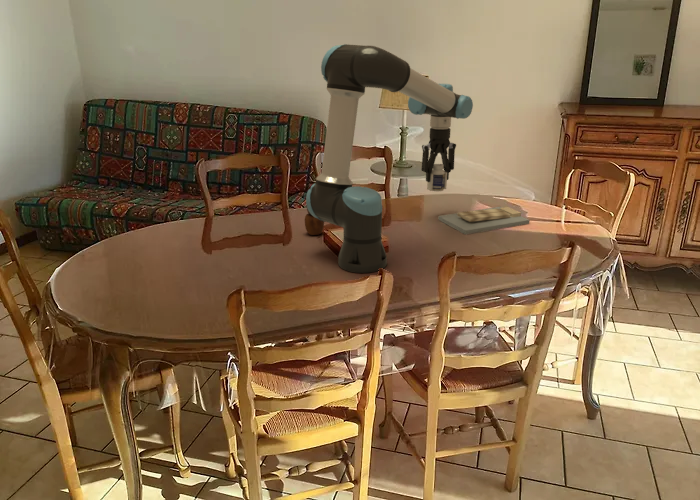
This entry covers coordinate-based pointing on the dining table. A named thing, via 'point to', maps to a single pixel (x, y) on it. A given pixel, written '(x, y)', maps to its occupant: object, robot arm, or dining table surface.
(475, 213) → the plank
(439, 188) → the pill bottle
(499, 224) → the floor panel
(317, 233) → the wooden figurine
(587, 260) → the dining table surface
